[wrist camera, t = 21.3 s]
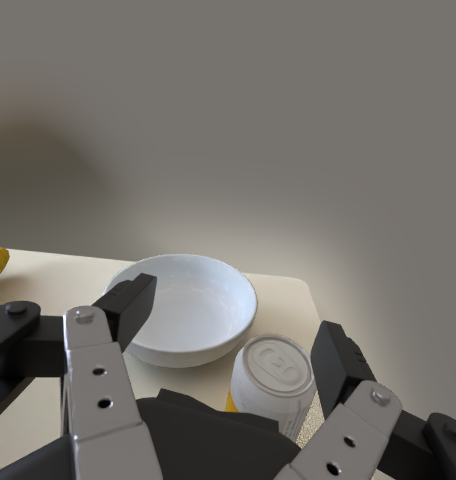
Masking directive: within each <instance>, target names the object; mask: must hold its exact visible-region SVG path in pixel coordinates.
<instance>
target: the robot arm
mask: <svg viewBox="0 0 456 480" xmlns="http://www.w3.org/2000/svg"><path fill="white" fill-rule="evenodd" d="M156 285H157V277H156V276H153V275H149V274H145V273H140V274H139V275H138V276H137V277H136V278H135V279H134V280H133V281H131V280H125V281H122V282H119V283H118V284H116V285H115V286H114V287H113V288H112V289H110V290H109V291H108V292H107V294H104V295H103V296H102V297H101V298H100V299H98V300H97V301H96V302H95V303H94V304H92V305H91V306H79V307H75V308H72V309H70V310H68V311H67V312H66V313H65V314H64V316H42V315H40V313H41V308H40V306H39V305H38V304H36V303H34V302H30V301H14V302H9V303H6V304H3V305H0V415H1V414H2V413H3V411H4V410H5V409H6V408H7V407H8V406H9V405H10V404H11V403H12V402H13V401H14V400H15V399H16V398H17V397H18V396H19V395H20V394H21V393H22V392H23V391H24V389H25V388H26V387H27V386H28V385H29V384H30V383H31V382H32V381H33V380H34V379H35V378H36V377H60V413H61V433H60V438H58V439H56V440H55V441H53V442H51V443H49V444H47V445H45V446H43V447H42V448H40V449H38V450H36V451H34V452H32V453H30V454H28V455H27V456H25V457H23V458H21V459H19V460H17V461H15V462H14V463H12V464H10V465H8V466H6V467H4V468H2V469H0V480H371V479H372V477H373V474H374V472H375V470H376V469H378V470H380V471H382V472H383V473H385V474H387V475H388V476H390V477H392V478H394V479H395V480H456V420H455V419H453V418H451V417H449V416H447V415H444V414H441V413H432V414H430V416H429V418H428V419H427V421H424V420H422V419H420V418H418V417H416V416H414V415H412V414H410V413H408V412H406V411H404V410H402V404H401V402H400V400H399V399H398V397H397V396H396V395H395V394H394V393H393V392H392V391H391V390H389V389H388V388H386V387H385V386H383V385H381V384H379V383H377V381H376V379H375V377H374V375H373V373H372V371H371V369H370V367H369V365H368V364H367V363H366V360H365V358H364V356H363V354H362V352H361V350H360V348H359V346H358V345H357V344H355V342H354V341H352V339H351V338H348V337H346V335H345V333H344V330H343V329H342V326H341V325H340V324H336V323H332V322H329V321H325V320H324V321H322V323H321V325H320V327H319V330H318V333H317V336H316V338H315V341H314V344H313V347H312V350H311V357H310V360H311V366H312V370H313V374H314V378H315V382H316V386H317V390H318V395H319V399H320V403H321V407H322V411H323V415H324V420H325V421H324V423H323V424H322V425H321V426H320V428H319V429H318V430H317V431H316V433H315V434H314V435H313V436H312V438H311V439H310V440H309V441H308V443H307V444H306V445H305V446H304V447H303V449H301V448H300V447H299V446H298V445H297V444H295V443H294V442H293V441H292V440H291V439H289V438H288V437H286V436H285V435H283V434H281V433H280V432H279V421H277V420H273V419H270V418H266V417H262V416H259V415H255V414H252V413H244V412H222V411H217V410H215V409H213V408H211V407H209V406H207V405H205V404H203V403H202V402H200V401H198V400H196V399H194V398H192V397H190V396H188V395H184V394H181V393H177V392H173V391H170V390H166V389H163V388H161V389H160V392H159V394H158V396H157V398H156V397H151V398H141V399H137V400H135V397H134V393H133V390H132V386H131V383H130V379H129V376H128V373H127V369H126V366H125V362H124V359H123V355H122V353H123V352H124V351H125V349H126V348H127V347H128V345H129V344H130V343H131V341H132V340H133V338H134V337H135V336H136V334H137V333H138V332H139V330H140V329H141V328H142V326H143V325H144V323H145V322H146V321H147V319H148V318H149V316H150V314H151V311H152V308H153V303H154V297H155V291H156Z"/></svg>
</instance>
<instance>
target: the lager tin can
mask: <svg viewBox="0 0 456 480" xmlns="http://www.w3.org/2000/svg"><path fill="white" fill-rule="evenodd" d="M316 387H317V386H316V382H315V378H314V374H313V370H312V366H311V360H310V356H309V354H308V353H307V352H306V351H305V349H304V348H303V347H301V346H300V345H299V344H298V343H296V342H295V341H293V340H291V339H289V338H287V337H285V336H282V335H277V334H261V335H258V336H255V337H253V338H251V339H250V340H249V341H248V342H247V343H246V344H245V346H244V347H243V348H242V349H241V350H240V351H239V353H238V354H237V356H236V359H235V363H234V368H233V373H232V378H231V384H230V389H229V394H228V399H227V405H226V410H225V412H244V413H252V414H255V415H259V416H262V417H266V418H270V419H273V420H277V421H279V432H280V433H281V434H283V435H285V436H286V437H288V438H289V439H291V440H292V441H293V442H294V443H295V442H296V440H297V438H298V435H299V433H300V430H301V428H302V425H303V423H304V420H305V418H306V416H307V413H308V411H309V408H310V406H311V403H312V401H313V398H314V396H315V393H316Z"/></svg>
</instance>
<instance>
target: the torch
mask: <svg viewBox="0 0 456 480" xmlns="http://www.w3.org/2000/svg"><path fill="white" fill-rule="evenodd" d="M9 257H10V256H9V252H8V250H6V249H5V248H0V273H1V272H2V271H3V269H4V268H5V266H6V264H7V262H8V260H9Z"/></svg>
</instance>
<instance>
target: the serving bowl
mask: <svg viewBox="0 0 456 480" xmlns="http://www.w3.org/2000/svg"><path fill="white" fill-rule="evenodd" d="M140 273H145V274H149V275H153V276H156V277H157V285H156V291H155V297H154V303H153V308H152V311H151V314H150V316H149V318H148V319H147V321H146V322H145V323H144V325H143V326H142V328H141V329H140V330H139V332H138V333H137V334H136V336H135V337H134V338H133V340H132V341H131V343H130V344H129V345H128V347H127V348H126V349H125V351H127V352H128V353H129V354H131V355H132V356H134V357H136V358H138V359H140V360H142V361H144V362H147V363H149V364H153V365H156V366H161V367H168V368H187V367H195V366H199V365H203V364H206V363H209V362H212V361H214V360H217V359H219V358H220V357H222V356H224V355H225V354H227V353H228V352H230V351H231V350H232V349H234V348H235V347H236V346H237V345H238V344H239V343H240V342H241V341H242V339H243V338H244V337H245V335H246V334H247V332H248V331H249V329H250V327H251V325H252V323H253V320H254V318H255V315H256V312H257V305H258V301H257V295H256V292H255V289H254V287H253V286H252V284H251V283H250V281H249V280H248V279H247V278H246V277H245V276H244V275H243V274H242V273H241V272H240V271H238V270H237V269H235V268H234V267H232V266H230V265H228V264H227V263H224V262H222V261H219V260H216V259H213V258H209V257H205V256H200V255H192V254H169V255H161V256H156V257H151V258H147V259H144V260H141V261H138V262H136V263H133V264H131V265H129V266H128V267H126V268H124V269H123V270H121V271H120V272H118V273H117V274H116V275H115V276H114V277H113V278H112V279H111V280H110V282H109V283H108V284H107V286H106V287H105V289H104V292H103V295H104V294H107V292H108V291H109V290H110V289H112V288H113V287H114V286H115V285H116V284H118V283H119V282H122V281H125V280H131V281H133V280H134V279H135V278H136V277H137V276H138V275H139V274H140ZM103 295H102V296H103Z"/></svg>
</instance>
